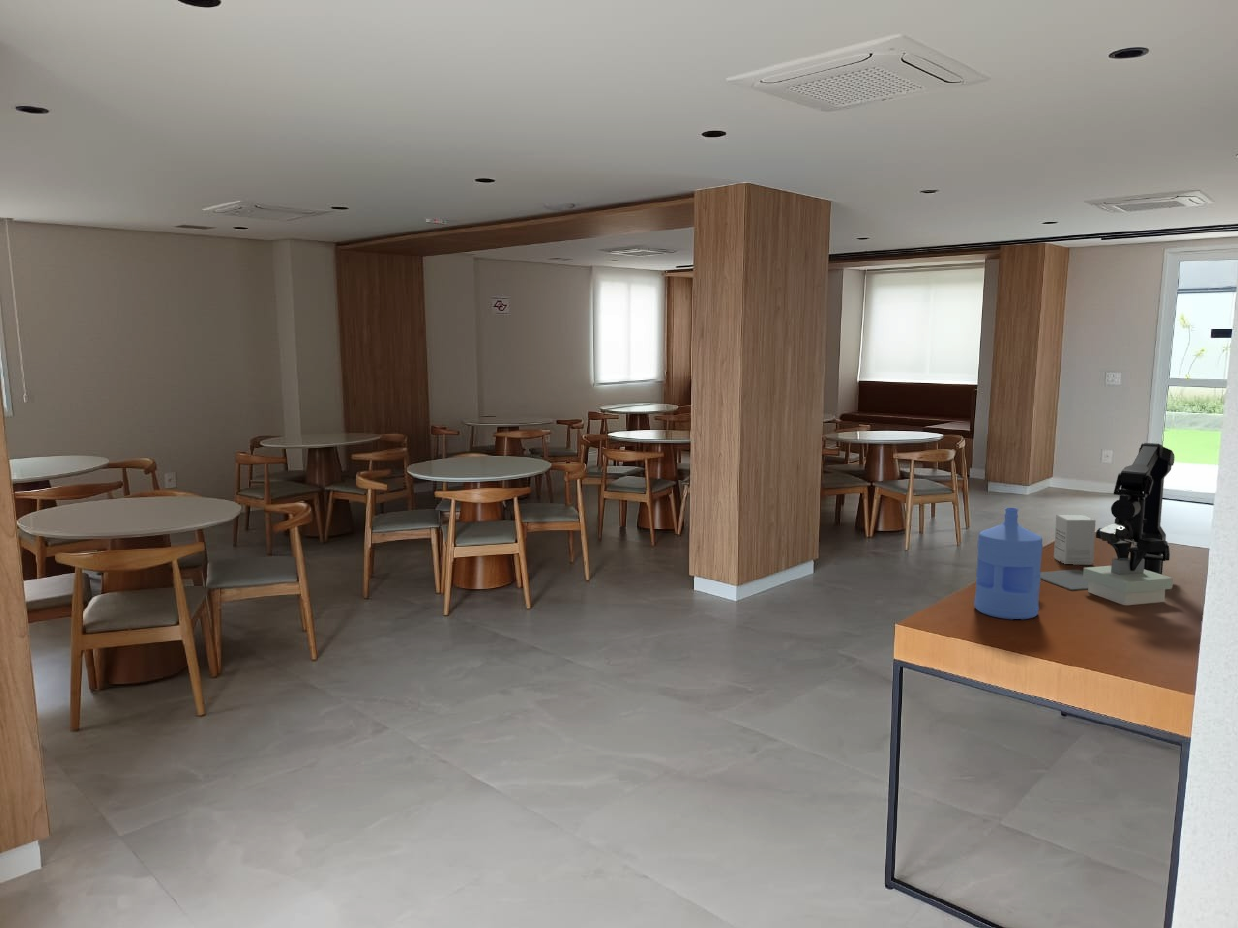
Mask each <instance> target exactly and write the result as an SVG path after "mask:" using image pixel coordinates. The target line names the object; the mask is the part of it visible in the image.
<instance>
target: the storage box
mask: <svg viewBox="0 0 1238 928" xmlns="http://www.w3.org/2000/svg"><path fill="white" fill-rule="evenodd" d="M1087 590H1088V594H1089V593H1090V594H1093V595H1095V596H1098V597H1100V598H1104V599H1105V600H1108V601H1111V602H1114V603H1117V604H1119V605H1122V606H1132V605H1134V606H1135V605H1145V604H1157V603H1158V604H1159V603H1165V597H1166V589H1163V590H1151V591H1139V592H1128V593H1125V592H1122V591H1119V590H1116V589H1114V588H1111V587H1108V586H1105V585H1102V584H1099V583H1096V582H1093V581H1091V580H1089V587H1088V589H1087Z"/></svg>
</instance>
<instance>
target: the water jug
mask: <svg viewBox="0 0 1238 928" xmlns="http://www.w3.org/2000/svg"><path fill="white" fill-rule="evenodd" d="M1004 511H1005V513H1004V522H1003V523H1002V524H998V525H996V526H993V527H992V526H991V527H990V528H987V529H984V530H981V531H980V532H979V533H978V538H977V546H976V547H977V562H976V563H977V565H976V580H975V581H976V582H975V594H974V595H975V597H974V602H973V603H974V608H975V610H977V611H978V612H979V613H982V614H984V615H987V616H988V617H989V616H990V617H994V618H998V619H1005V620H1013V619H1021V620H1028V619H1032V618H1035V617H1036V616H1038V615H1039V610H1040V605H1039V600H1040V596H1039V595H1040V585H1041V581H1042V579H1041V575H1040V572H1041V565H1042V555H1043V538H1042V536H1040V535H1039V534H1038V533H1035V532H1033V531H1031V530H1030V529H1027V528H1025V527H1023V526H1022V525H1019V523H1018V518H1019V515H1018V512H1019V509H1018V508H1015V507H1005V508H1004Z"/></svg>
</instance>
